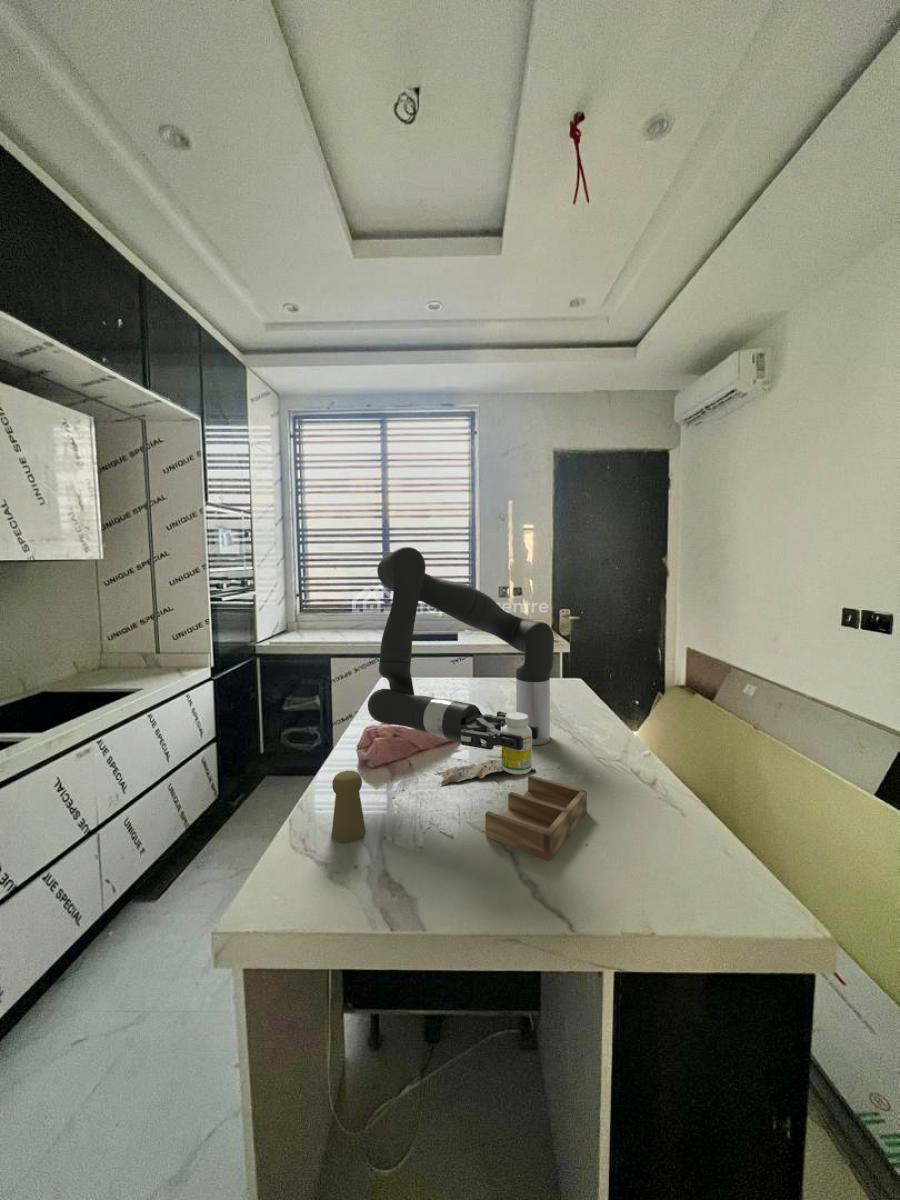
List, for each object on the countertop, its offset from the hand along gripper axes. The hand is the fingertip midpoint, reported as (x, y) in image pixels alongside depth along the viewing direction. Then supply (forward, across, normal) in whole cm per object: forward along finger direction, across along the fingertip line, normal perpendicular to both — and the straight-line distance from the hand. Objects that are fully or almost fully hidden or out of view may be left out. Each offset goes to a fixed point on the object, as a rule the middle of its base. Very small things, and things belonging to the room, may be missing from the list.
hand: (529, 738), depth 78 cm
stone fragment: (-20, +16, +19) cm, 32 cm away
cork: (-27, -18, +18) cm, 37 cm away
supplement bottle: (-3, 0, +6) cm, 7 cm away
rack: (0, +4, +18) cm, 18 cm away
